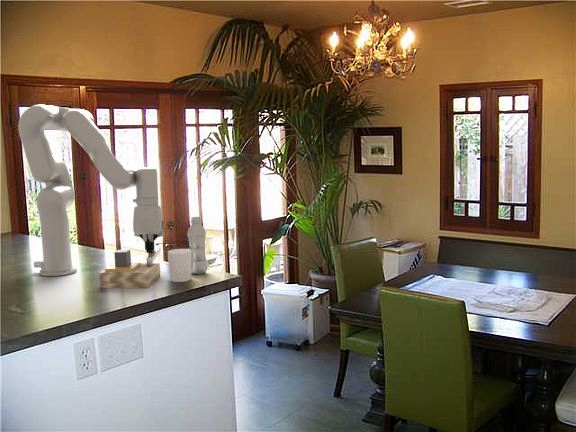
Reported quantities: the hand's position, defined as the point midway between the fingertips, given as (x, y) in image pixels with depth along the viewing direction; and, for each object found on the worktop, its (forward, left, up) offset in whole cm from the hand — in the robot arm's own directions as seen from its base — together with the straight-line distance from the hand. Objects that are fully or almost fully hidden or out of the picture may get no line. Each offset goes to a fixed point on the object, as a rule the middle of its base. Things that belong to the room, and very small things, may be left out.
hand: (149, 252), depth 224 cm
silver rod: (+3, -6, -2) cm, 7 cm away
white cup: (+15, -13, -7) cm, 21 cm away
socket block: (-1, -17, -7) cm, 19 cm away
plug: (-3, -18, -5) cm, 19 cm away
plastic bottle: (+19, -4, -7) cm, 20 cm away
